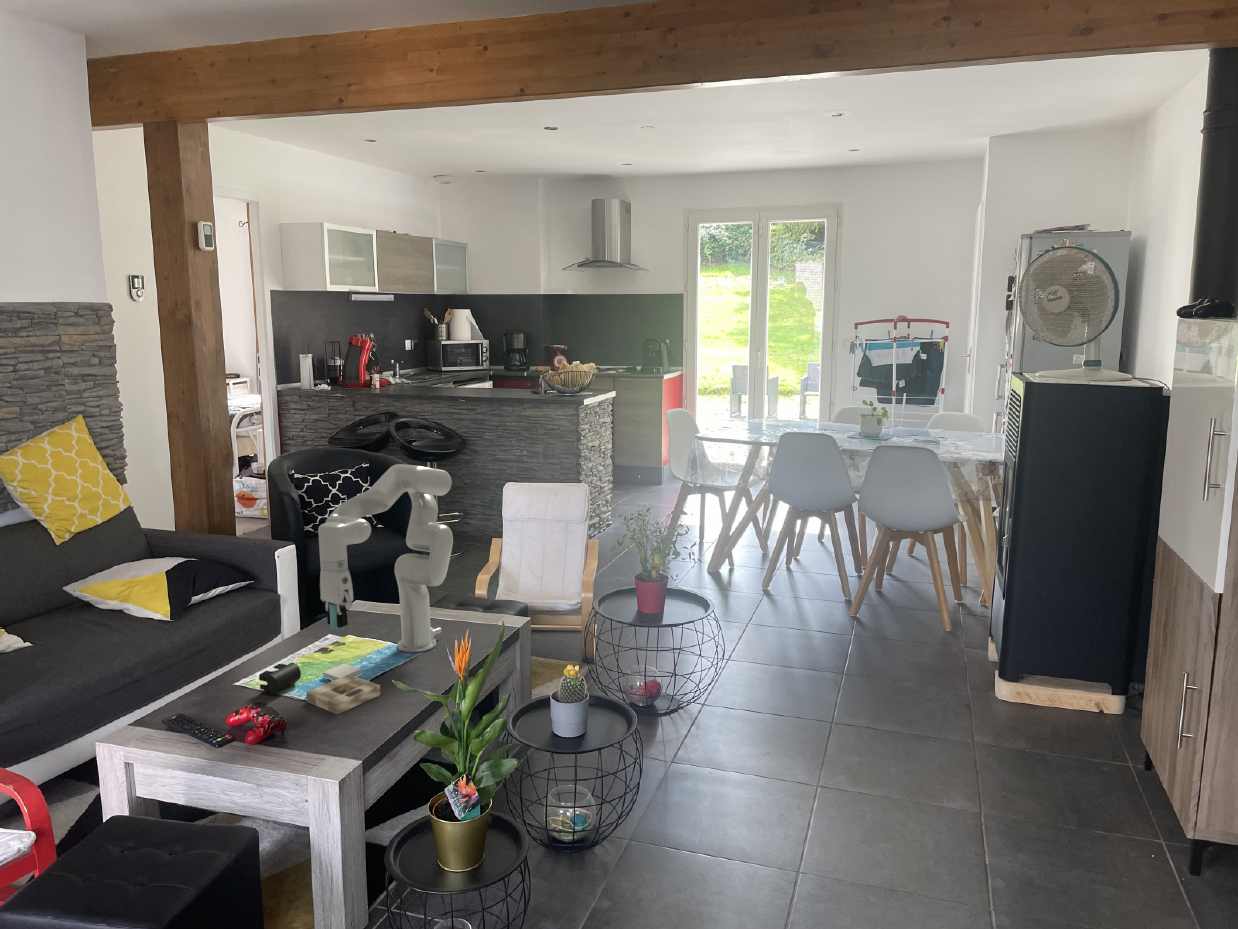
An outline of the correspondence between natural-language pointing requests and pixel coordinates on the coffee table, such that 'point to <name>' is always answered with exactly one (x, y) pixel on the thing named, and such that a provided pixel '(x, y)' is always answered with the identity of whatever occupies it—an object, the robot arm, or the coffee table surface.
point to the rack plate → (338, 703)
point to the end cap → (279, 678)
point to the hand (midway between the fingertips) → (337, 624)
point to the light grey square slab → (342, 672)
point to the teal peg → (334, 618)
